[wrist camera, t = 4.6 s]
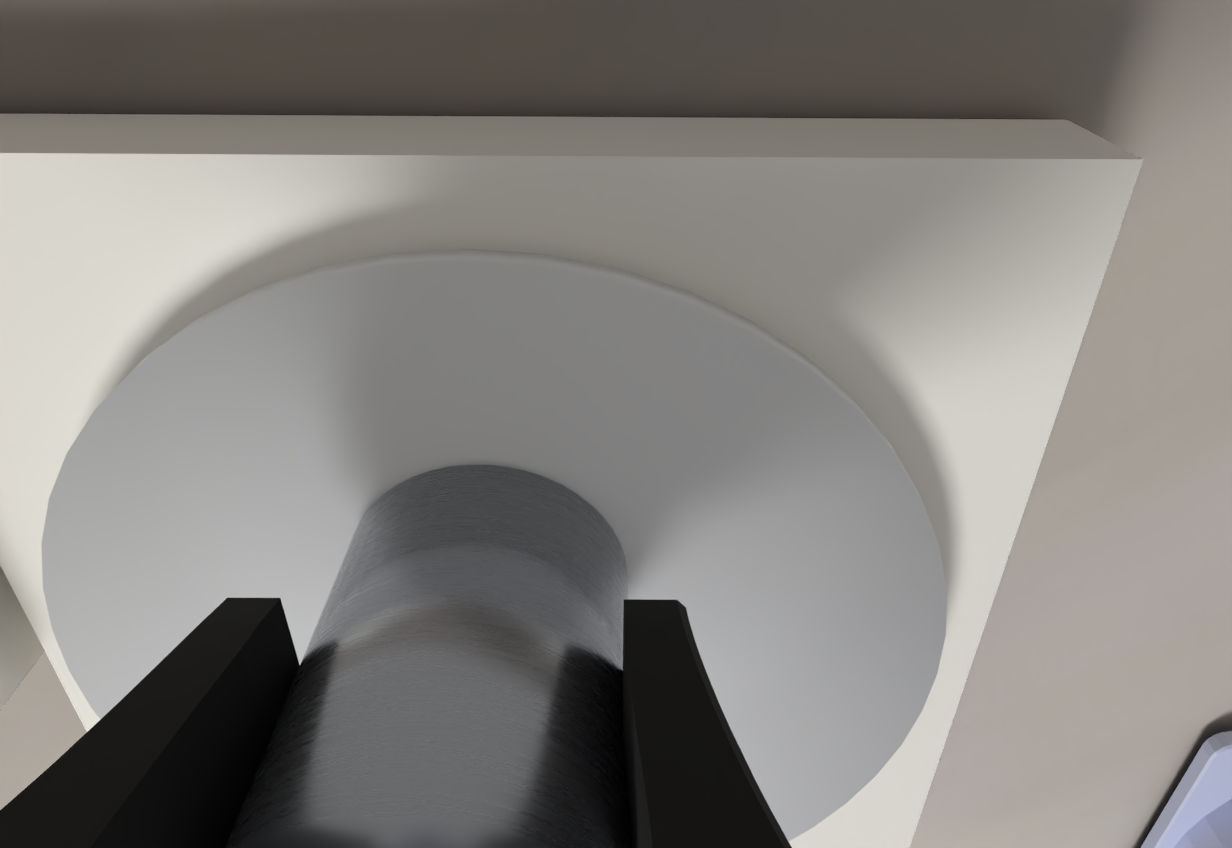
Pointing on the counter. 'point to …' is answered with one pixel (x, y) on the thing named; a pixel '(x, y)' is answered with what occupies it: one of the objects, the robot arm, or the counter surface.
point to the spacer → (458, 679)
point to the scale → (554, 386)
